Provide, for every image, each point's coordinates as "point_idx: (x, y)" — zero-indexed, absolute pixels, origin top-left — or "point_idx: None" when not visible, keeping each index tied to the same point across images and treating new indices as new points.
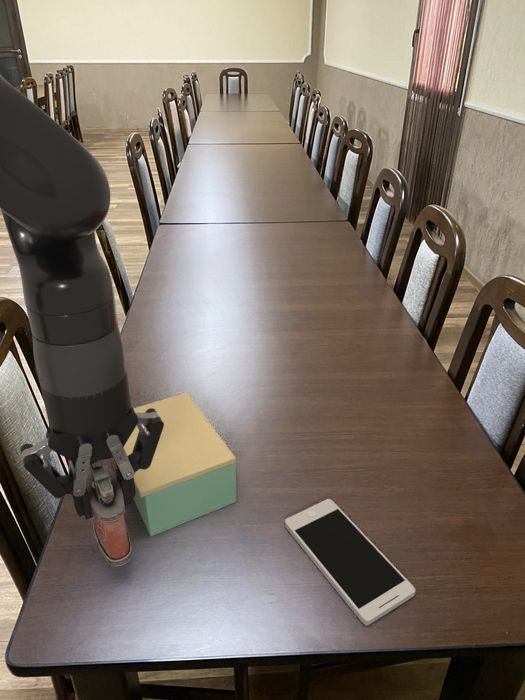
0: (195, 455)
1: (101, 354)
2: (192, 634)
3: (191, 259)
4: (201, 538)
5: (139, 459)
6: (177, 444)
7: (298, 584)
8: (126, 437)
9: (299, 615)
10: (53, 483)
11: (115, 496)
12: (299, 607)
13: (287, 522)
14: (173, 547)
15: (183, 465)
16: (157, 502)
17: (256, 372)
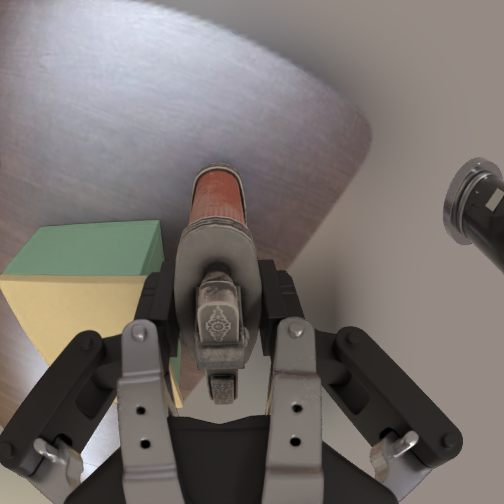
0: (49, 313)
1: None
2: (157, 37)
3: (98, 455)
4: (91, 186)
5: (97, 366)
6: None
7: (14, 73)
8: (107, 476)
9: (32, 31)
10: (377, 373)
11: (194, 286)
12: (27, 42)
13: None
14: (132, 187)
15: (66, 304)
16: (125, 258)
17: (30, 370)
